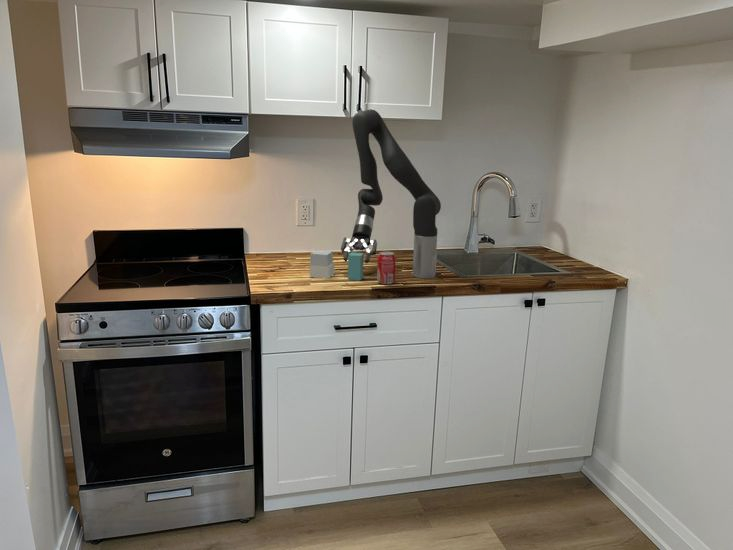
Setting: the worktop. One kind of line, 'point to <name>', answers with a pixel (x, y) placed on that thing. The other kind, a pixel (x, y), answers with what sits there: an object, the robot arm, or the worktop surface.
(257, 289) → the worktop surface
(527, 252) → the worktop surface
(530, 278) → the worktop surface
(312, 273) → the tower base
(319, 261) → the tower top
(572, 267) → the worktop surface
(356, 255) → the pillar
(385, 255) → the soda can
